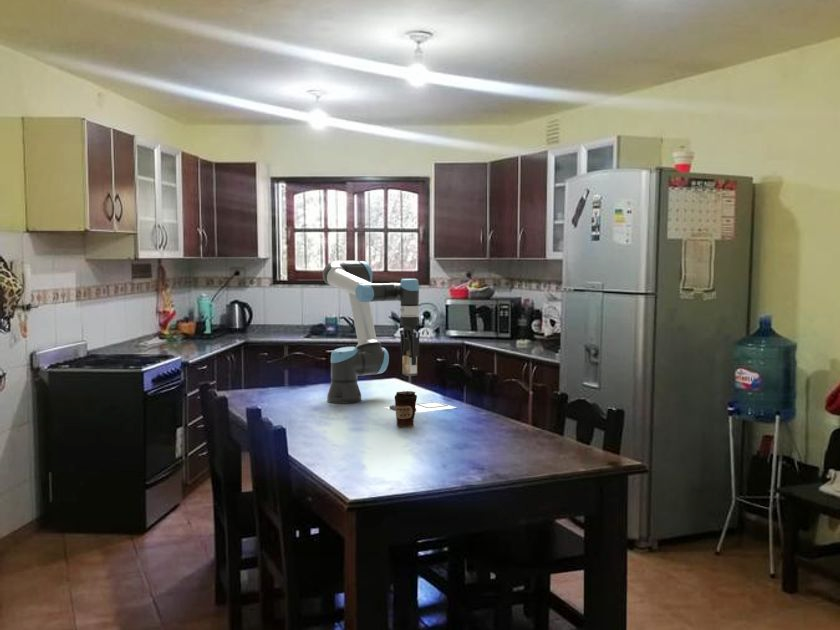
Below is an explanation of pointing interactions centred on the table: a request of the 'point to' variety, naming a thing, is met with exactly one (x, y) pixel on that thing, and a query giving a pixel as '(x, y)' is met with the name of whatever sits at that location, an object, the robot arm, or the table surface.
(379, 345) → the robot arm
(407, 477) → the table surface
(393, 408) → the ink pad
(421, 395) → the table surface
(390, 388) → the table surface
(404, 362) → the stamp
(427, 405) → the sheet
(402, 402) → the coffee cup
